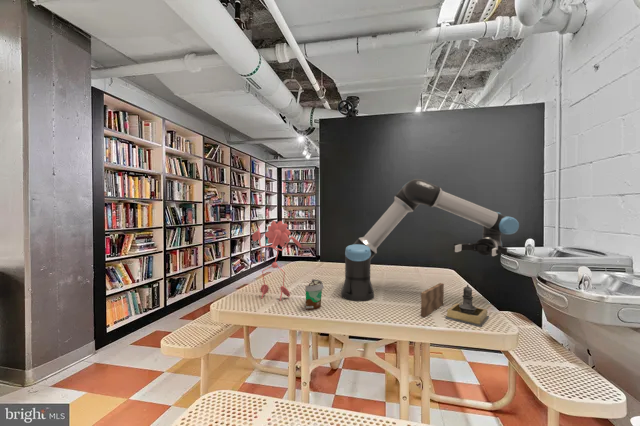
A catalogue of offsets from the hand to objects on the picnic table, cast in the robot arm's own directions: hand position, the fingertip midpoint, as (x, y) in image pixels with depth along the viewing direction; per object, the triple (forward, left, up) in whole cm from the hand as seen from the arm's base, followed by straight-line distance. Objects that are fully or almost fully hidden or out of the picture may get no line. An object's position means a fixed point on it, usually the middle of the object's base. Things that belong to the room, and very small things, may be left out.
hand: (473, 250), depth 118 cm
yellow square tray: (-7, -7, -24) cm, 26 cm away
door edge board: (-16, +2, -24) cm, 29 cm away
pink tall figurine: (-80, +23, -25) cm, 87 cm away
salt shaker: (-6, -7, -24) cm, 26 cm away
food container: (-63, +7, -25) cm, 68 cm away
